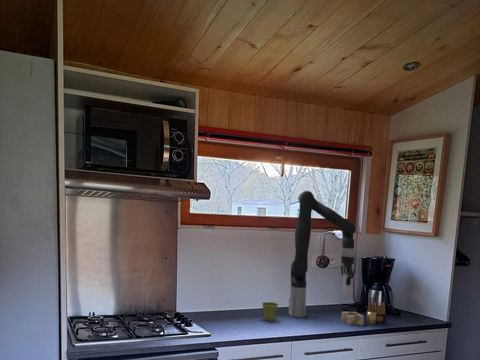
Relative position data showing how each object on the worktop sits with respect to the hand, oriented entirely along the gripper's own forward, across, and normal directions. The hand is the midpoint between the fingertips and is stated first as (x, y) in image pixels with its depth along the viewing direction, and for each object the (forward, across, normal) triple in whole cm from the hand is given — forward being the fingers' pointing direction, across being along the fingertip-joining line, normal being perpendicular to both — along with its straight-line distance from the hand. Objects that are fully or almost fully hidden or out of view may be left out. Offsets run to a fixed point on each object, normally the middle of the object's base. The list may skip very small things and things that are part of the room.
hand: (346, 284), depth 226 cm
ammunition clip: (+20, +8, +15) cm, 27 cm away
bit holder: (+20, +8, 0) cm, 22 cm away
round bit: (+20, +11, +10) cm, 25 cm away
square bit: (+6, 0, 0) cm, 6 cm away
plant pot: (+21, +1, -47) cm, 52 cm away
